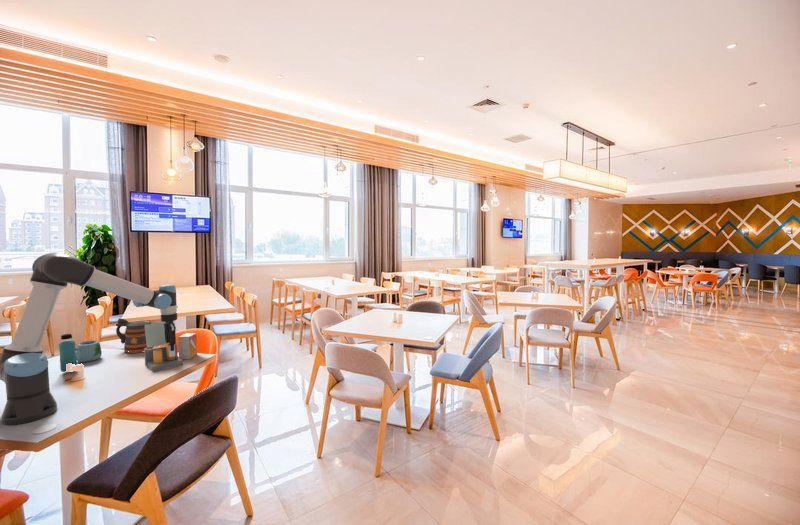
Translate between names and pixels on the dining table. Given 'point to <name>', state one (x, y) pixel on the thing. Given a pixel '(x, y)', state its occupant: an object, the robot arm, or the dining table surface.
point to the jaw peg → (168, 353)
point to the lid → (155, 334)
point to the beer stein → (133, 335)
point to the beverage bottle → (67, 352)
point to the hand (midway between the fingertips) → (171, 355)
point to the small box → (187, 345)
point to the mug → (88, 351)
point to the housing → (160, 359)
